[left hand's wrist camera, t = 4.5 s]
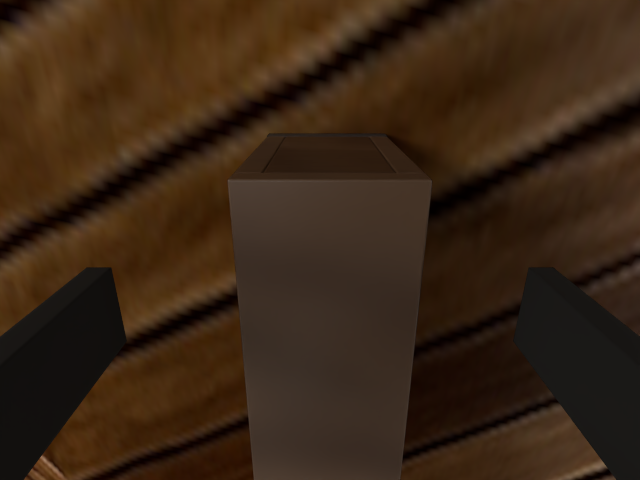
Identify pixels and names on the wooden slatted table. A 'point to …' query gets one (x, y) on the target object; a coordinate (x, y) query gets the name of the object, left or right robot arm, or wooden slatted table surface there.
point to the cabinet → (328, 301)
